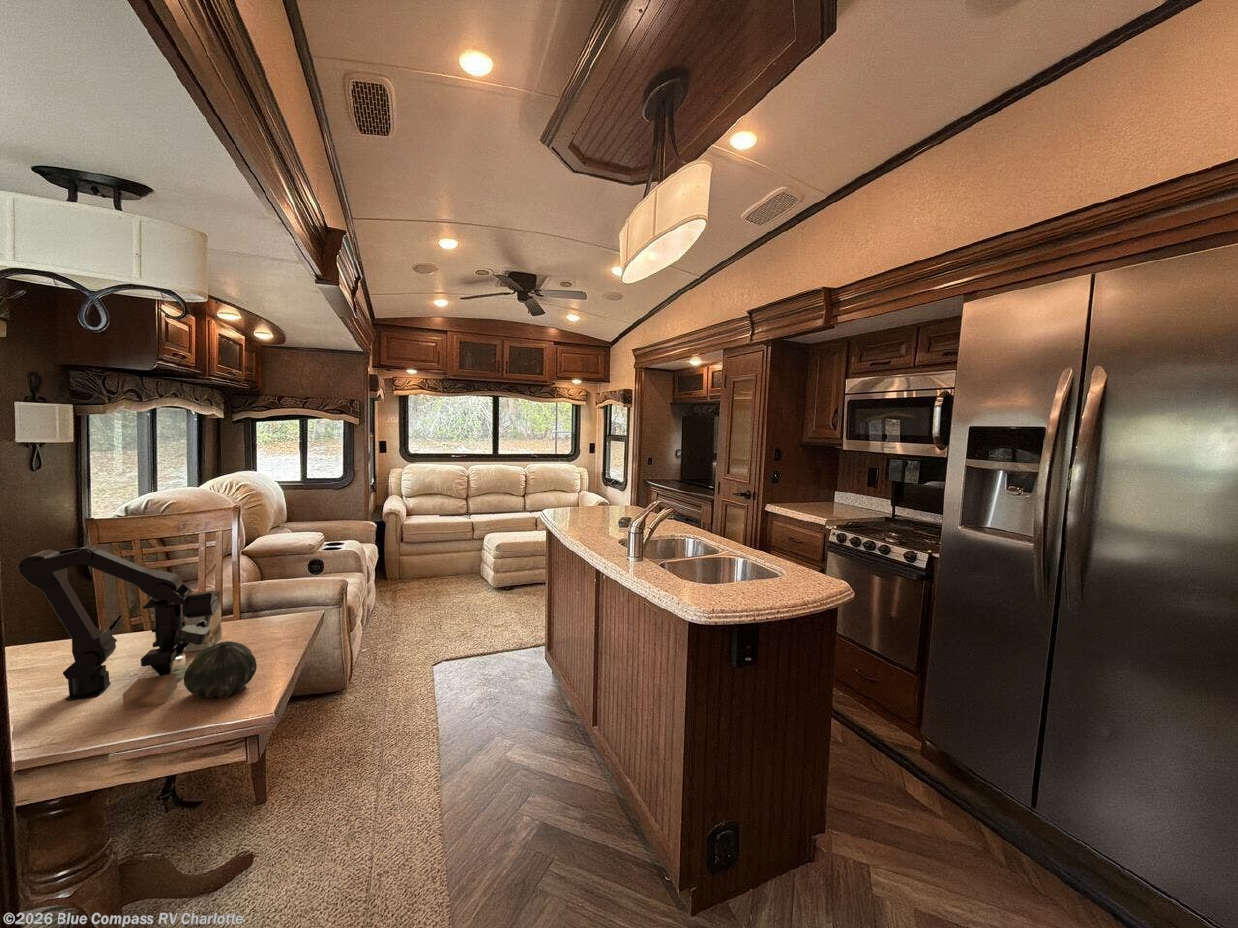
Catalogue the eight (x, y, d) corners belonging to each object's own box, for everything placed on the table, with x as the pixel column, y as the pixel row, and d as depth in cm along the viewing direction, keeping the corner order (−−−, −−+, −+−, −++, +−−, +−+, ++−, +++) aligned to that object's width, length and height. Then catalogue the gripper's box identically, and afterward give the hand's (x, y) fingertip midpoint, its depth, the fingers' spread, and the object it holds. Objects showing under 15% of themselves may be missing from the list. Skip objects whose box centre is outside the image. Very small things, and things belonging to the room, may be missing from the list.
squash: (203, 658, 141) (187, 634, 131) (266, 652, 146) (255, 629, 136) (186, 711, 132) (167, 690, 122) (254, 703, 137) (242, 682, 127)
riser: (123, 709, 126) (122, 694, 125) (138, 693, 133) (137, 678, 133) (164, 703, 129) (163, 688, 129) (177, 687, 136) (176, 673, 136)
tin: (153, 686, 136) (151, 665, 136) (163, 675, 142) (161, 654, 141) (181, 681, 139) (180, 661, 138) (190, 671, 144) (189, 651, 144)
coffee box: (209, 649, 158) (206, 600, 156) (184, 652, 156) (181, 601, 154) (222, 637, 166) (220, 590, 165) (199, 639, 164) (196, 591, 163)
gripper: (192, 629, 134) (195, 685, 135) (215, 604, 151) (218, 654, 152) (137, 636, 129) (142, 693, 131) (168, 609, 146) (171, 661, 148)
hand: (172, 674), depth 140 cm, fingers closed on tin, 6 cm apart
